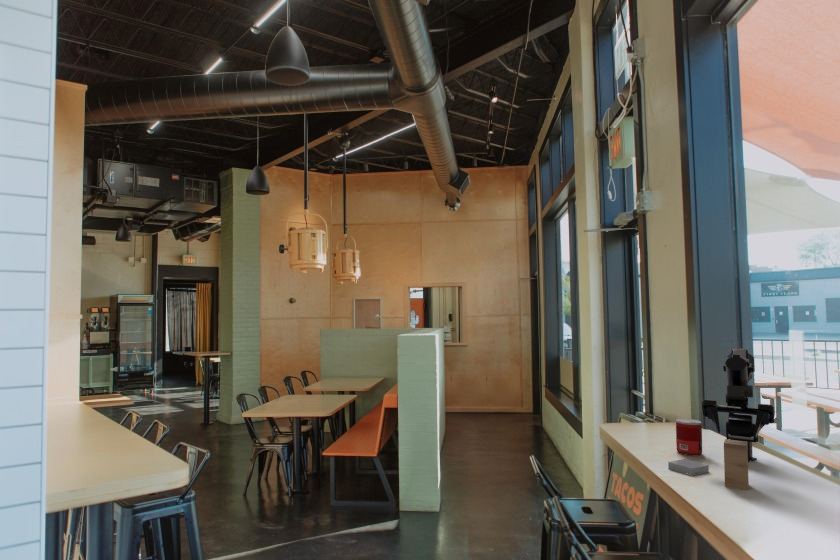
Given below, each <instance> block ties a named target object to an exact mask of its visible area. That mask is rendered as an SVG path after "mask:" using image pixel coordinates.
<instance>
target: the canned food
mask: <svg viewBox="0 0 840 560" xmlns="http://www.w3.org/2000/svg"><path fill="white" fill-rule="evenodd" d="M702 429H703V427H702V421H700V420H698V419H691V418H676V419H675V432H676V433H675V435H676V436H675V437H676V441H675V442H676V444H675V445H676V452H677V453H679V454H680V453H681V454H680V455H684V454H686V456H691V455H698V456H701V455H702V454H703V430H702Z"/></svg>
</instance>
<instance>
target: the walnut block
mask: <svg viewBox="0 0 840 560" xmlns="http://www.w3.org/2000/svg"><path fill="white" fill-rule="evenodd" d="M723 461H724V462H723V465H724V467H723V468H724V469H723V470H724V472H723V473H724V487H726V488H731V487H732V488H731V489H738V490H745V491H749V461H748V449H747V442H746V441H737V440H730V439H727V438H725V439H724V441H723Z"/></svg>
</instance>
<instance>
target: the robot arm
mask: <svg viewBox="0 0 840 560" xmlns="http://www.w3.org/2000/svg"><path fill="white" fill-rule="evenodd" d="M726 358H727V359H726V360H725V361H724V362H723V372H724V373H725V374H726V378H727V382H726V383H727V385H726V394H725V404H718V402H717V401H718V400H715V399H703V400H701V410H702V415H703V417H705V418H707V419H708V420H711V421H712V423H713V424H714V426H715V428H716V431H717V433H718V434H720V433H721V425H720V419H719V413H726V414H727V413H728V416H727V417H728V418H727V420H725V434H726V438H725V439H729V440H737V441H746V442H747V449H748V462H749V461H750V460H751V461H757V460H758V458H757V457H755V456H754V457H753V443H759V433H760V432H761V429H763V428H764V427H765V426H768V425H770V424H773V423H775V407H774V406H773V404H768V403H767V404H765V403H757V408H753V407H749V398H751V399H752V398H754V385H749V382H750V380H752V379H753V373H755V370H756V369H755V357H754V356H753V355H752V354H750V352H749V350H748V348H742V347H741V348H740V347H739V348H735V347H734V348H732V349H731V352H730V353H729V354H728V355H727V357H726ZM753 416H755V423H754V422H753V421H754V420H753ZM751 461H750V462H751Z"/></svg>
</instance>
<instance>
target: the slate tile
mask: <svg viewBox="0 0 840 560" xmlns="http://www.w3.org/2000/svg"><path fill="white" fill-rule="evenodd" d="M667 462H668V466H667V467H668V470H672V471H674V470H675V472H678V471H680V472H679V473H681V472H683V473H682V474H685V473H688V474H691V475H690V476H692V475H693V476H696V475H695V474H698V475H701V474H700V473H702V474H707V473H709V472H710V471H709V470H710V468H709V466H710V465H709V464H706V463H704V462H703V463H702V462H699V461H695V460H690V459H688V458H681V459H678V460H677V459H676V460H672V461H667ZM688 474H687V475H688Z"/></svg>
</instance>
